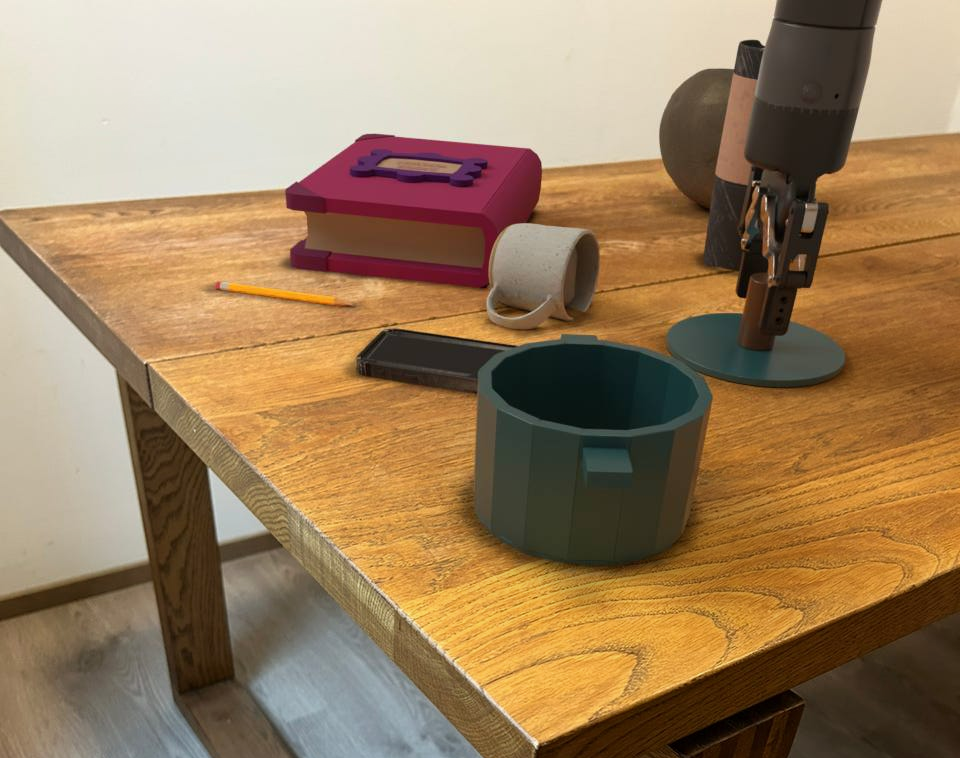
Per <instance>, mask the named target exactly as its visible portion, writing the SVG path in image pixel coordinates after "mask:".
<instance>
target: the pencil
mask: <svg viewBox="0 0 960 758" xmlns="http://www.w3.org/2000/svg"><path fill="white" fill-rule="evenodd" d="M214 288H215V290H219V291H225V292H232V293H239V294H240V293H241V294H247V295H255V296H262V297H269V298H275V299H284V300H290V301H298V302H305V303H312V304H313V303H314V304H320V305H328V306H336V307H337V306H338V307H345V306H352V305H354V303H352V302H349V301H347V300H344V299H341V298H338V297H336V296H329V295H321V294H314V293H306V292H299V291H293V290H292V291H291V290H283V289H276V288H270V287H263V286H255V285H247V284H239V283H232V282H226V281H225V282H224V281H216V282H214Z"/></svg>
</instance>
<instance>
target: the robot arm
mask: <svg viewBox="0 0 960 758" xmlns="http://www.w3.org/2000/svg"><path fill="white" fill-rule="evenodd" d="M882 4H883V0H776V2H775V6H774V13H773V18H772V21H771V26H770V29H769V32H768V36H767V39H766V42H765V45H764V46H765V48H764V51H763V56H762V60H761V65H760V70H759V75H758V81H757V86H756V91H755V96H754V101H753V106H752V111H751V116H750V122H749V127H748V132H747V137H746V142H745V148H744V157H745V159H746V160H747V161H748V162H749V163H750V164H752V165H751V172H750V176H749V181H748V186H747V190H746V195H745V200H744V204H743V209H742V214H741V218H740V223H739V225H738V233H739V235H743V237H742V239H741V247H742V249H746V251H743V255H742V260H741V265H740V270H739V271H738V275H737V278H736V279H737V280H736V284H735V290H734V291H735V294H736V296H737V297H738V298H740V299H746V296H747V291H748V286H749V281H750V277H751V275H753V274H755V273H768V279H767V281H768V285H767V288H766V293H765V297H764V302H763V306H762V311H761V315H760V320H759V324H758V329H759V331H760V332H761V334H763V335H772V336H782V335H785V334H786V333H787V331H788V327H789V323H790V321H791V318H792V315H793V312H794V311H793V310H794V306H795V302H796V299H797V293H798V290H799V289H800V290H801V289H810V288H811V287H812V284H813V282H814V276H815V271H816V267H817V263H818V258H819V254H820V250H821V246H822V242H823V237H824V234H825V233H824V232H825V228H826V224H827V219H828V215H829V212H830V208H829V207H830V206H829V203H828V202H821V201H820V202H819V201H818V198H817V197H816V191H817V181H818V179H819V178H820V177H822V176H824V175H833V174H836V173H837V172H839V171H840V170H842V169H843V168H844V167H845V165H846V163H847V158H848V154H849V150H850V146H851V143H852V139H853V134H854V130H855V127H856V123H857V118H858V114H859V111H860V106H861V102H862V99H863V94H864V91H865V86H866V82H867V80H868V79H867V78H868V75H869V71H870V67H871V61H872V55H873V47H874V46H873V44H874V39H875V38H874V37H875V33H876V25H877V24H878V21H879V16H880V12H881V8H882ZM791 261H792V263H793V269H790V266H791Z"/></svg>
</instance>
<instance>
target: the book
mask: <svg viewBox="0 0 960 758" xmlns="http://www.w3.org/2000/svg"><path fill="white" fill-rule="evenodd" d="M542 164H543V163H542V161H541V159H540V156H539V155H538V153H536V152H535V151H534V150H533V149H532V148H529V147H517V146H508V145H507V146H505V145H495V144H485V143H473V142H461V141H449V140H441V139H440V140H439V139H428V138H417V137H404V136H396V135H394V134H385V133H384V134H383V133H365V134H362V135H360V136H359V137H358V138H356V139H355V140H354V142H353V143H351V144H350V145H349V146H347V147H346V148H344V149H342V150H341V152H339V153H338V154H336V155H335V156H333V157H332V158H330V159H329V160H328V161H327V162H325V163H324V164H322V165H321V166H319V167H318V168H317V169H315V170H314V171H312V172H311V173H310V174H308V175H307V176H305V177H304V178H302V179H301V180H300V181H295V182H294V183H292V184H290V185H289V186H288V187H287V188H285V192H284V193H285V205H286V209H288V210H291V211H296V212H304V214H305V216H306V226H307V227H306V228H307V235H306V237H305V238H304V239H300V240H299V241H298V242H297V243H296V244H294V246H292V247H291V248H290V249H289V254H290V255H289V257H290V267H291V268H295V269H297V270H305V271H315V272H324V273H327V272H329V273H339V274H348V275H357V276H358V275H359V276H366V277H377V278H385V279H388V278H389V279H394V280H395V279H396V280H405V281H412V282H413V281H414V282H422V283H423V282H424V283H432V284H433V283H434V284H441V285H451V286H459V287H460V286H461V287H470V288H478V289H481V288H483V287H485V286H487V285H490V283H489V260H490V255H491V252H492V248H493V246H494V243H495V241H496V240H497V238H498V236H499V235H500V233H501V232H502V231H503V230H504V229H505V228H506V227H508V226H510V225H514V224H521V223H528V220H529V219H530V217H531V215H532V214H533V211H534V210H535V208H536V207H537V205H538V203H539V201H540V195H541V190H542V180H543V179H542V178H543V167H542V166H543V165H542Z"/></svg>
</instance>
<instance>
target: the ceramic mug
mask: <svg viewBox="0 0 960 758" xmlns="http://www.w3.org/2000/svg"><path fill="white" fill-rule="evenodd" d="M600 262H601V254H600V245H599V241H598V238H597V236H596V235H595V232H593V231H592V230H590V229H587V228H578V227H577V228H576V227H569V226H568V227H567V226H566V227H565V226H558V225H557V226H555V225H545V224H538V223H532V222H531V223H530V222H526V223H521V224H514V225H510V226H508V227H506V228H505V229H504V230H503V231H502V232H501V233H500V235H499V236H498V238H497V240H496V241H495V243H494V246H493V248H492V252H491V255H490V260H489V287H490V289H491V290H490V291H489V293H488V295H487V297H486V303H485V304H486V311H487V312H486V313H487V315H488V319H489V320H490V321H491V322H492V323H493V324H496V325H498V326H501V327H504V328H508V329H513V330H514V329H515V330H533V329H536V328H538V327H539V326H541V325H542V324H543V323H545V322H546V321H547V320H548V319H549V318H554V319H557V320H561V321H566V322H570V321H573V320H574V317H571V316H569V315H568V313H567V311H566V308H570V309H573V310H576V311H579V312H583V313H584V312H587V311H588V309H590V308H589V307H590V305H591V303H592V301H593V300H594V299H593V298H594V296H595V294H596V291H597V286H598V281H599V275H600V267H601V266H600V264H601V263H600ZM498 303H502V304H503V305H506V306H508V307H510V308H511V307H512V308H514V309H519V310H522V311H523V310H524V311H529V313H526V314H524V315H520V316H516V317H506V316H503V315H500V314H498V313H497V312H496V310H495V308H496V306H497V305H498Z"/></svg>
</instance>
